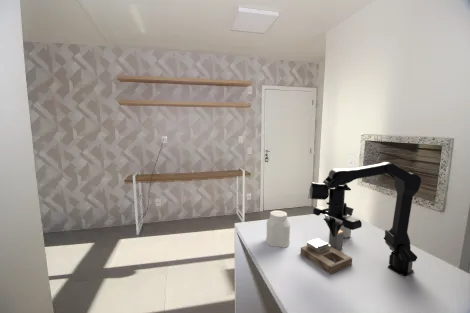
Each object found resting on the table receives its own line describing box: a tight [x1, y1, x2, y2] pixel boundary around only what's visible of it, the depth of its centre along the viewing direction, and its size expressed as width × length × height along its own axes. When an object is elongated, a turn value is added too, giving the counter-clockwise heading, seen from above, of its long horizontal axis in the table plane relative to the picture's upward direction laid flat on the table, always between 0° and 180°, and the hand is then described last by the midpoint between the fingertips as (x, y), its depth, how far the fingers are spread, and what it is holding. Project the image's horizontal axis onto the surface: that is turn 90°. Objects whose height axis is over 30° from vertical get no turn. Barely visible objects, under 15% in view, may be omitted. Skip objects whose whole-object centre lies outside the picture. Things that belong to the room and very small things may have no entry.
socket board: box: [300, 245, 353, 275], centre depth 93 cm, size 16×13×3 cm
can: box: [340, 214, 352, 239], centre depth 115 cm, size 8×8×12 cm
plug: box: [328, 230, 344, 251], centre depth 102 cm, size 4×4×9 cm
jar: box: [265, 210, 291, 248], centre depth 107 cm, size 12×10×15 cm
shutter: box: [306, 238, 331, 254], centre depth 96 cm, size 7×7×3 cm
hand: (334, 236), depth 89 cm, fingers closed
